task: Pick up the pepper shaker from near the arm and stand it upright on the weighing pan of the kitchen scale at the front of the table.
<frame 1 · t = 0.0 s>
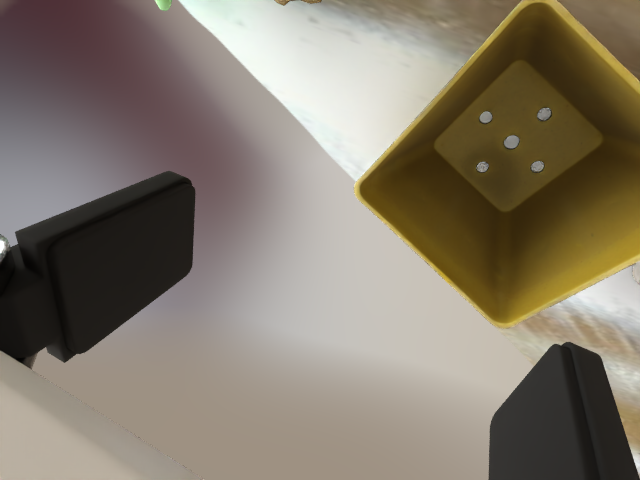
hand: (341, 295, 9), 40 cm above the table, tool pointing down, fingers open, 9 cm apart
flower pot: (510, 142, 42), on the table
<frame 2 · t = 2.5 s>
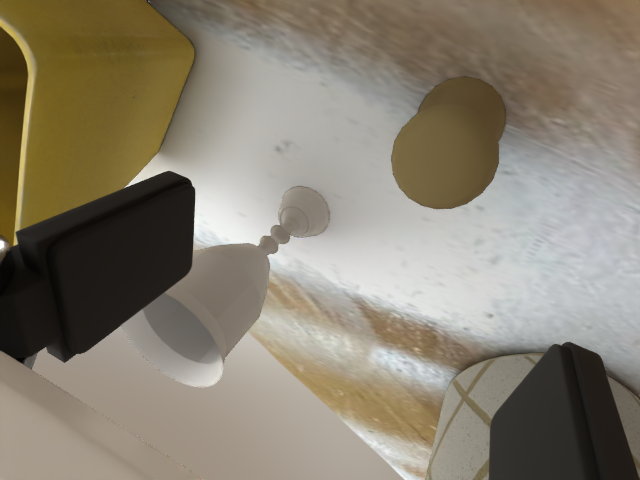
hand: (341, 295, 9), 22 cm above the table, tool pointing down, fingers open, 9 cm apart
planter: (538, 414, 36), on the table
flower pot: (128, 65, 36), on the table
pepper shaker: (459, 122, 27), on the table
chalice: (305, 211, 35), on the table
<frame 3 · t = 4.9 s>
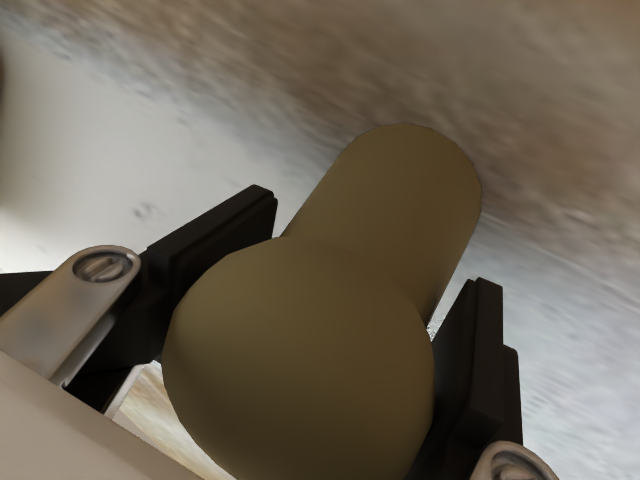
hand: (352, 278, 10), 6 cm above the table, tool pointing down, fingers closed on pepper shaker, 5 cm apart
pepper shaker: (400, 199, 15), on the table, touching gripper
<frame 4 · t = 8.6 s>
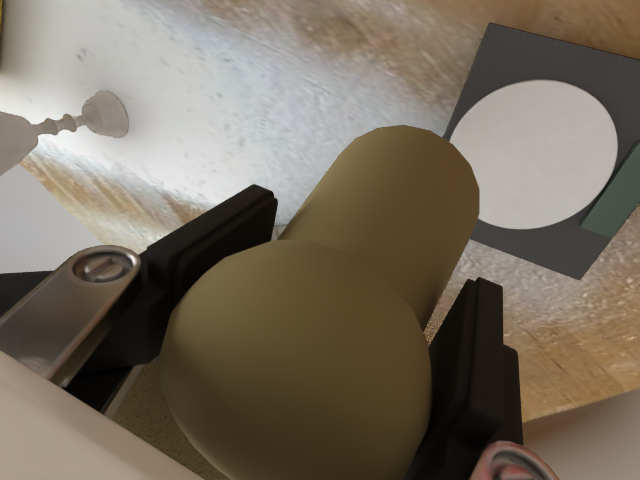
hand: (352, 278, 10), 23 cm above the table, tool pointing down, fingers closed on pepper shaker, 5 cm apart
planter: (309, 289, 42), on the table
scale: (535, 154, 27), on the table
pepper shaker: (398, 201, 15), point 17 cm above the table, touching gripper
chalice: (111, 114, 42), on the table
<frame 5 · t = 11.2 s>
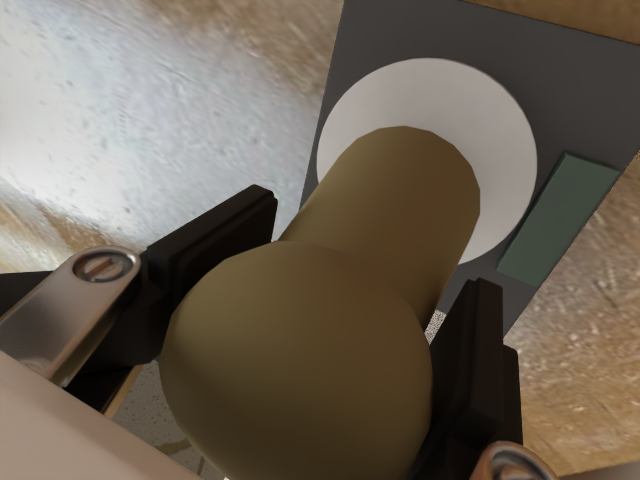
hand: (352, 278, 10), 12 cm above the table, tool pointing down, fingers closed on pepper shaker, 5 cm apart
planter: (205, 322, 34), on the table
scale: (443, 165, 20), on the table
pepper shaker: (399, 201, 15), point 6 cm above the table, touching gripper
when the fingers open (9 cm above the table, at t = 12.6 s): pepper shaker stays where it is, resting on scale.
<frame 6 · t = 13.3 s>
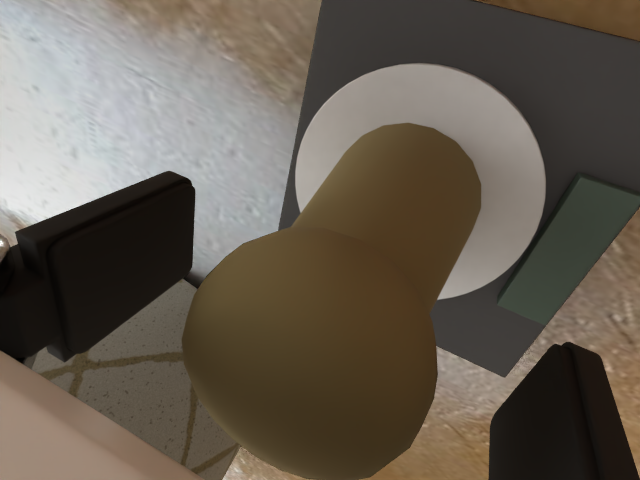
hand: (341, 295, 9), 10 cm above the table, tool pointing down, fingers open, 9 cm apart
planter: (187, 343, 32), on the table
scale: (438, 183, 18), on the table
pepper shaker: (403, 196, 16), point 3 cm above the table, touching scale
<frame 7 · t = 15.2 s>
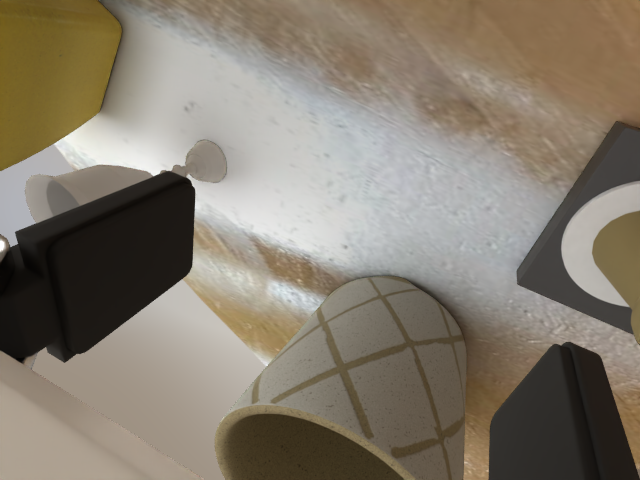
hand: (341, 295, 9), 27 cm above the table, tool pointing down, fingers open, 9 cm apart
planter: (390, 334, 44), on the table
flower pot: (75, 39, 45), on the table
chalice: (209, 161, 44), on the table
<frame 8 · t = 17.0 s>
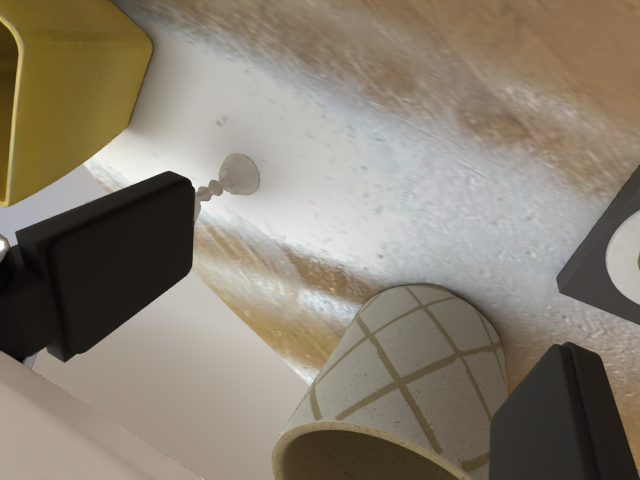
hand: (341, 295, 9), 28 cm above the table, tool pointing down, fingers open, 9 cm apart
planter: (424, 340, 45), on the table
flower pot: (103, 54, 45), on the table
chalice: (241, 174, 44), on the table
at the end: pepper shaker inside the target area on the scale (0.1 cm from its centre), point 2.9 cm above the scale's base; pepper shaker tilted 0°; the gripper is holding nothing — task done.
